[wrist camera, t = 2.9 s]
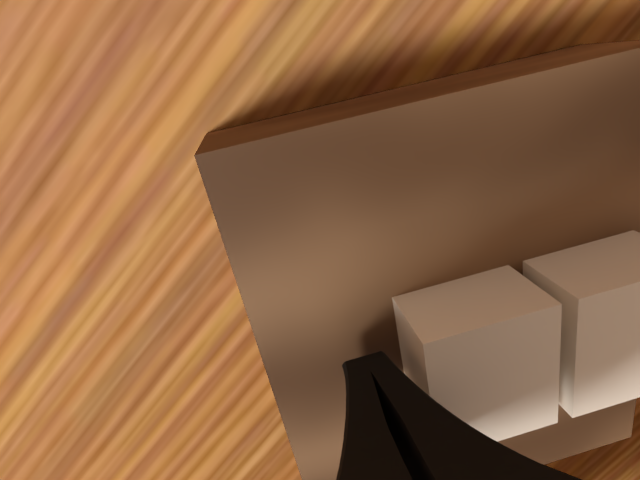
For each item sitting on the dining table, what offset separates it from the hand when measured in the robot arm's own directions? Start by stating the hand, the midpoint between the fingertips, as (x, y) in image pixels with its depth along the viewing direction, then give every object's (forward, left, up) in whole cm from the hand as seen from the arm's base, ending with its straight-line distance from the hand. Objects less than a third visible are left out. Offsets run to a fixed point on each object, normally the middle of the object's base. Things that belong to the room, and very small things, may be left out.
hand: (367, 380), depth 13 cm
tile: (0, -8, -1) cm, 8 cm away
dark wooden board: (0, -4, -5) cm, 6 cm away
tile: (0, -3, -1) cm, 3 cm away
